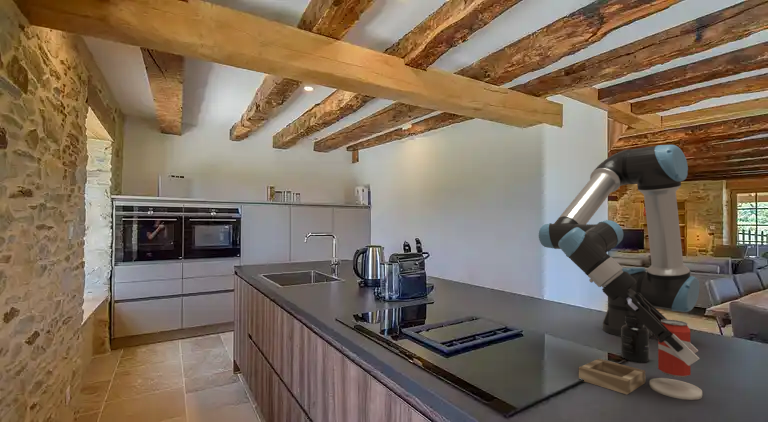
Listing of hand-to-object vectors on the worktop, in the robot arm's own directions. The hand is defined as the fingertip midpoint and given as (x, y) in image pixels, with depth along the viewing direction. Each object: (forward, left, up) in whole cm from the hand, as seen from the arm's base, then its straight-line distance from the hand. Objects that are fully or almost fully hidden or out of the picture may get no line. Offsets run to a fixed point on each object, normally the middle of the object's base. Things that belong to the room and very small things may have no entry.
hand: (693, 357), depth 93 cm
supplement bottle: (-16, -18, -9) cm, 26 cm away
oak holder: (+7, -15, -8) cm, 18 cm away
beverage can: (+1, -3, -5) cm, 6 cm away
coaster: (+1, -3, -8) cm, 9 cm away
